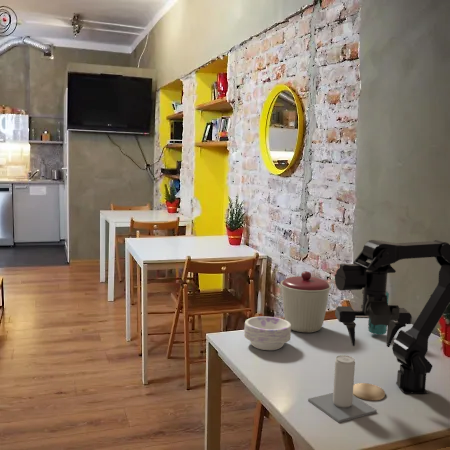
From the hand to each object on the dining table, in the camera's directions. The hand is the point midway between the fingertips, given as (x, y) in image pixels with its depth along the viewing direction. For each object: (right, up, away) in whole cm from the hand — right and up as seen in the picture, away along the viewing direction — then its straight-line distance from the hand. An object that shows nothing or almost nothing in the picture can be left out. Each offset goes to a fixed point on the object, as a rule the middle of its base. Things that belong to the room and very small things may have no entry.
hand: (370, 346), depth 140 cm
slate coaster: (-9, -14, -6) cm, 18 cm away
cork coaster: (0, -13, +2) cm, 13 cm away
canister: (-10, -6, +52) cm, 53 cm away
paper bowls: (-25, -8, +34) cm, 43 cm away
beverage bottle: (+15, -7, +47) cm, 50 cm away
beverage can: (-9, -13, -6) cm, 17 cm away
